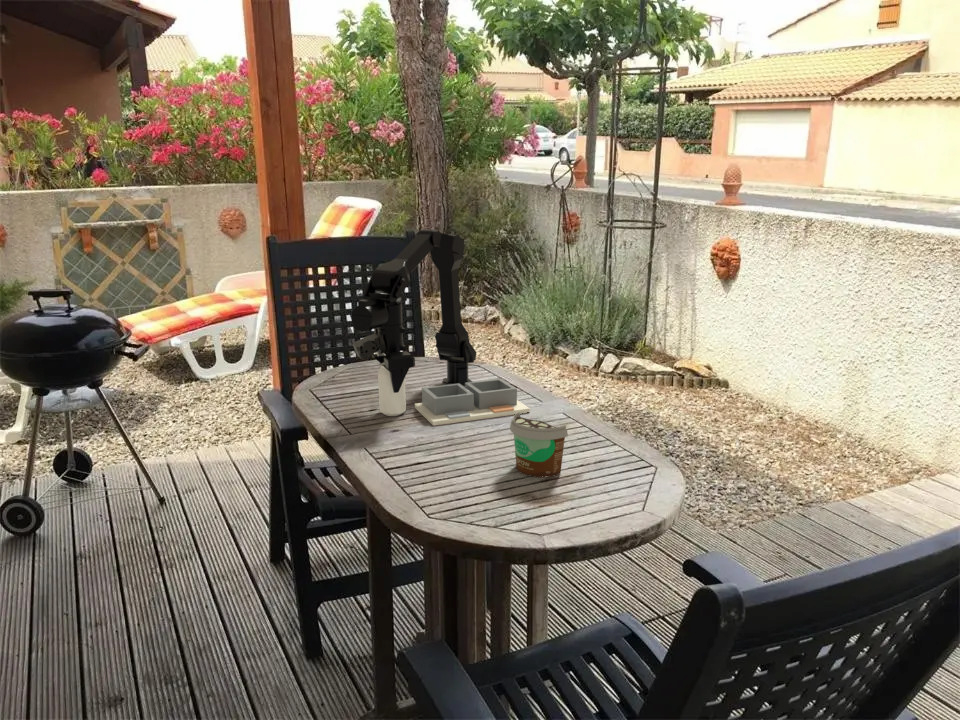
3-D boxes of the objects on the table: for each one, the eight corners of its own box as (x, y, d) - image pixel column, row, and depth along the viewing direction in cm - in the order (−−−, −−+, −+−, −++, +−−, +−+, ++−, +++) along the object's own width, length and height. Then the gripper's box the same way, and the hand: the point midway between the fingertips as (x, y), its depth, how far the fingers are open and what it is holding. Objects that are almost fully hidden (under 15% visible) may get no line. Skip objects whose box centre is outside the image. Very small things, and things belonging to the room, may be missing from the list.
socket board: (414, 407, 186) (414, 387, 184) (505, 396, 194) (506, 377, 193) (433, 425, 173) (432, 404, 172) (529, 412, 182) (530, 392, 180)
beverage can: (407, 416, 179) (405, 366, 176) (380, 418, 178) (378, 368, 175) (405, 408, 185) (403, 360, 182) (379, 409, 184) (377, 361, 181)
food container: (496, 467, 150) (496, 419, 147) (517, 459, 154) (517, 411, 151) (546, 485, 141) (547, 434, 139) (566, 475, 146) (568, 425, 143)
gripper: (346, 318, 182) (349, 382, 186) (365, 334, 165) (368, 404, 169) (391, 314, 186) (393, 377, 190) (414, 330, 169) (416, 398, 173)
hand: (392, 388), depth 180 cm, fingers closed on beverage can, 6 cm apart
